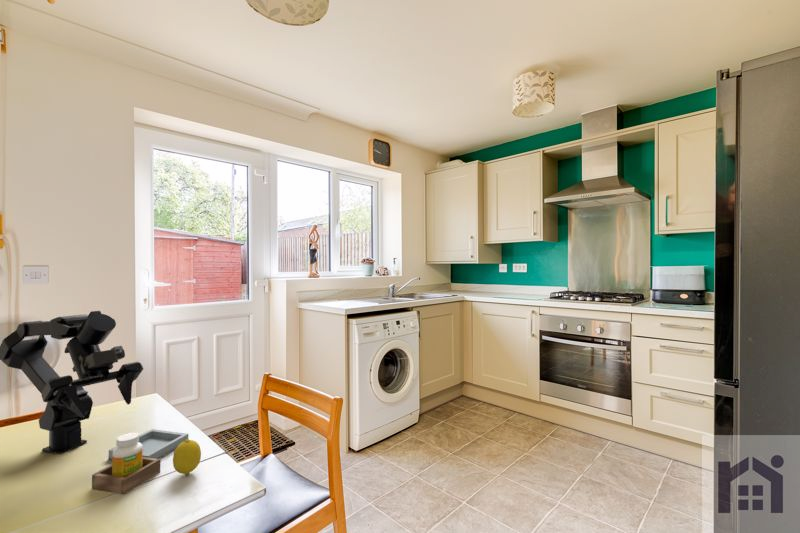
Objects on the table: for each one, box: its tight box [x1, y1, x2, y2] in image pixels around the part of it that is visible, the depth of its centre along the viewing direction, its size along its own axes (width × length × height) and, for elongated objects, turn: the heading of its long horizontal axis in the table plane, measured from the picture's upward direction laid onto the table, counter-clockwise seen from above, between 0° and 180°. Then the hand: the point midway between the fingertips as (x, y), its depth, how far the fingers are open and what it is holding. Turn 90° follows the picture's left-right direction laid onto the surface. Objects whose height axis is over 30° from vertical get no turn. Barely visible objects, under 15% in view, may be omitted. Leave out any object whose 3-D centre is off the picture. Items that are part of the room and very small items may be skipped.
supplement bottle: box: [111, 432, 143, 478], centre depth 80 cm, size 5×5×10 cm
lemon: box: [172, 438, 202, 476], centre depth 82 cm, size 6×6×8 cm
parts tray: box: [108, 428, 189, 461], centre depth 93 cm, size 12×12×2 cm
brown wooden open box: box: [91, 457, 161, 496], centre depth 80 cm, size 9×9×3 cm
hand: (107, 409), depth 86 cm, fingers open, 9 cm apart
